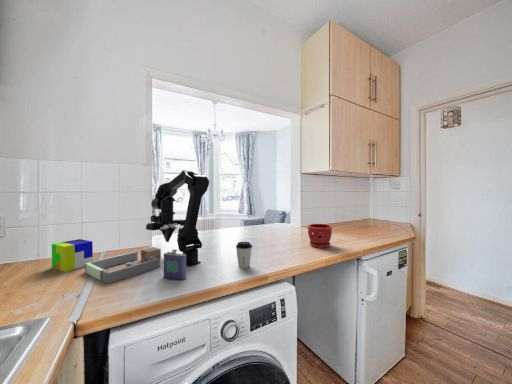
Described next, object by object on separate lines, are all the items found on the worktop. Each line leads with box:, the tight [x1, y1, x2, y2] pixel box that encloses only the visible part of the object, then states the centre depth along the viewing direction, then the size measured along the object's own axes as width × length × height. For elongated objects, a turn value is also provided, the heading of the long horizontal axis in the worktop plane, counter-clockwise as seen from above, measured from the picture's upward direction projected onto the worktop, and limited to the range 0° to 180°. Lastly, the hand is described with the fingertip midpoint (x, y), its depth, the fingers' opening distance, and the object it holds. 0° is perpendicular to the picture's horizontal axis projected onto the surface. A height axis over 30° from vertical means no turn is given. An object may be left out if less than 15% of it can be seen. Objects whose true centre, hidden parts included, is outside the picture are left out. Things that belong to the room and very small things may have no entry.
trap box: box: [84, 251, 161, 284], centre depth 90 cm, size 19×20×4 cm
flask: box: [163, 248, 187, 281], centre depth 81 cm, size 9×3×11 cm, turn 74°
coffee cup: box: [235, 241, 253, 269], centre depth 93 cm, size 7×7×10 cm
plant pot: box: [307, 223, 333, 249], centre depth 127 cm, size 13×13×12 cm
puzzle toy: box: [51, 238, 94, 273], centre depth 94 cm, size 10×10×10 cm
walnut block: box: [140, 246, 162, 262], centre depth 102 cm, size 6×6×5 cm
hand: (167, 241), depth 109 cm, fingers closed
